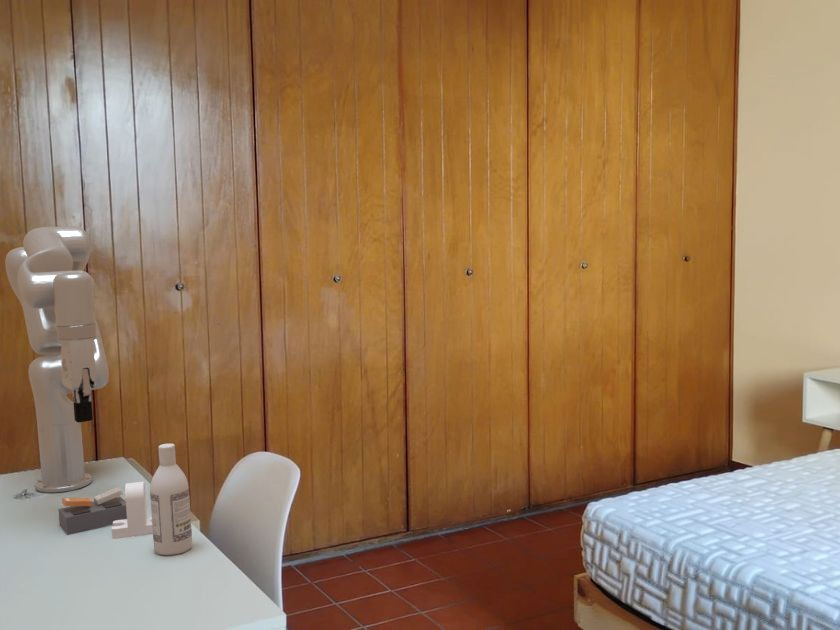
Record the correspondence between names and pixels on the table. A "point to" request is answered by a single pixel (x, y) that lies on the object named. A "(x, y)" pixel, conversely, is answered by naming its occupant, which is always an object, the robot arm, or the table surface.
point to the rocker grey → (108, 495)
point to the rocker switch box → (92, 515)
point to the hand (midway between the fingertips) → (83, 420)
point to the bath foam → (170, 505)
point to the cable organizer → (133, 514)
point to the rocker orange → (76, 502)
